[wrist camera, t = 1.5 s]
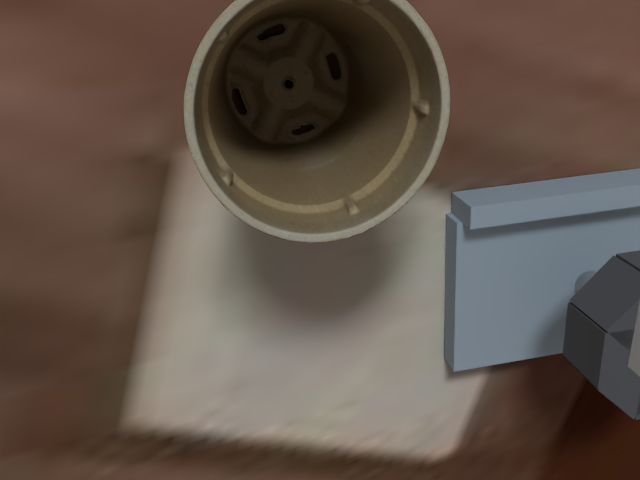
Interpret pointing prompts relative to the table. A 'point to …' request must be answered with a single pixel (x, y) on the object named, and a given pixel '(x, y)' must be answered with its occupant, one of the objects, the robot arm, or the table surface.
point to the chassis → (529, 261)
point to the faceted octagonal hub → (607, 330)
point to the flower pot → (317, 114)
